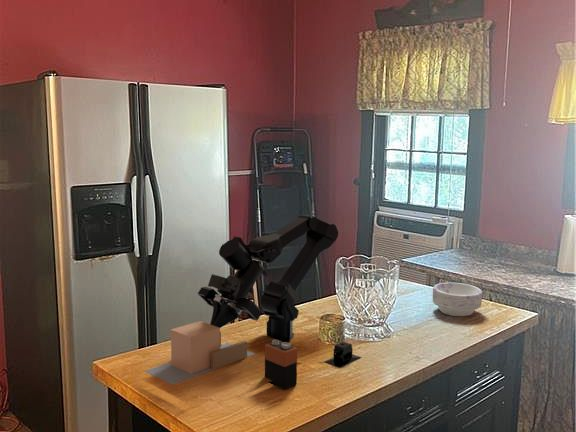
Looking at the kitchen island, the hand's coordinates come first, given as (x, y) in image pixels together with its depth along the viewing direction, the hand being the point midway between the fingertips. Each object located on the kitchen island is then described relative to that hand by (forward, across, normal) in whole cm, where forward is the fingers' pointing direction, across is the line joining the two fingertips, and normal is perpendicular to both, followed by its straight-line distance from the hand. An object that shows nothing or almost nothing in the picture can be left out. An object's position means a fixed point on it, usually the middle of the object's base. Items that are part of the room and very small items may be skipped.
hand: (210, 331), depth 152 cm
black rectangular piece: (-11, +22, +24) cm, 35 cm away
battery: (+4, +21, +9) cm, 23 cm away
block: (+8, 0, +2) cm, 9 cm away
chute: (+8, 0, +4) cm, 9 cm away
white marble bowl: (-52, +24, +63) cm, 86 cm away
